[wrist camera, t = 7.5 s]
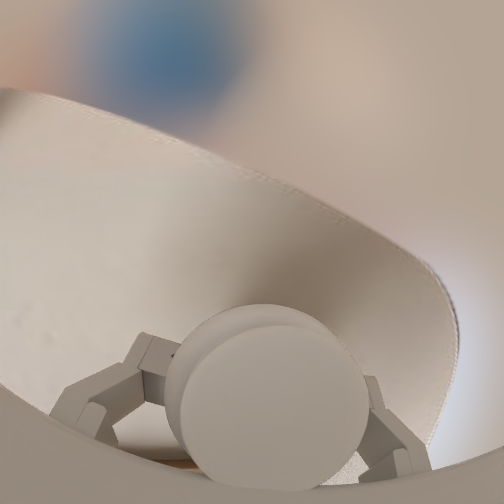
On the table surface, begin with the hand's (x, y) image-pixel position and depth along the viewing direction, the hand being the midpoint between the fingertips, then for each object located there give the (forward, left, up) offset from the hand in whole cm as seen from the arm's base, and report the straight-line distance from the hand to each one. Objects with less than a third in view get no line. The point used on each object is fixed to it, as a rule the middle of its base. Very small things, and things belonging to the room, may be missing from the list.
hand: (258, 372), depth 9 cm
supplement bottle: (+1, 0, -6) cm, 6 cm away
